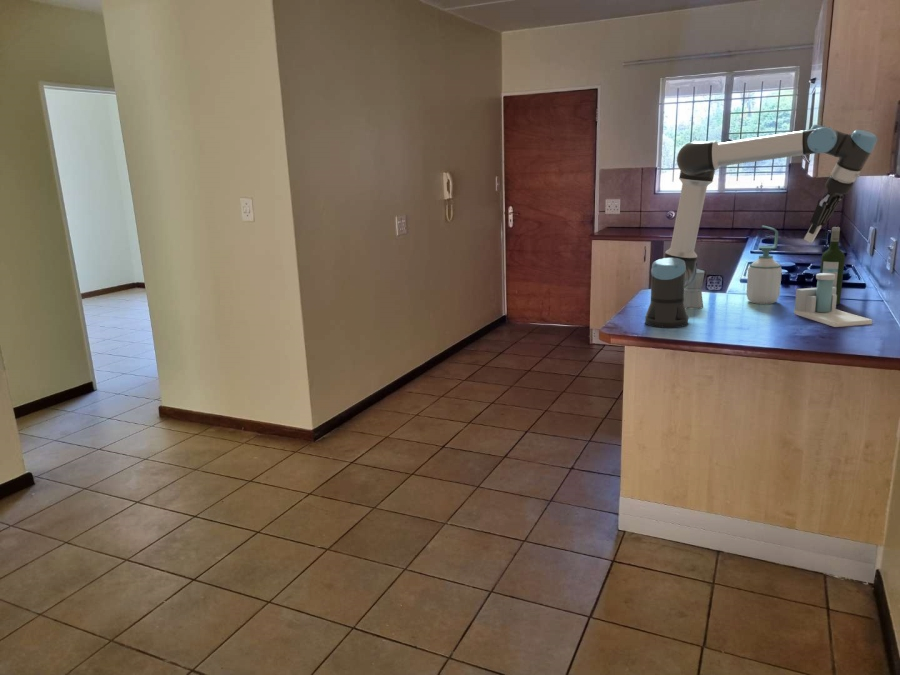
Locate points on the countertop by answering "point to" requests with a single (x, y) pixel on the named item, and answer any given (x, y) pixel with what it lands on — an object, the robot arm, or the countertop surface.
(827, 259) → the wine bottle
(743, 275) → the countertop surface
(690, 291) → the coffee maker
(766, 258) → the soap bottle
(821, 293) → the teal jar
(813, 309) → the mount
